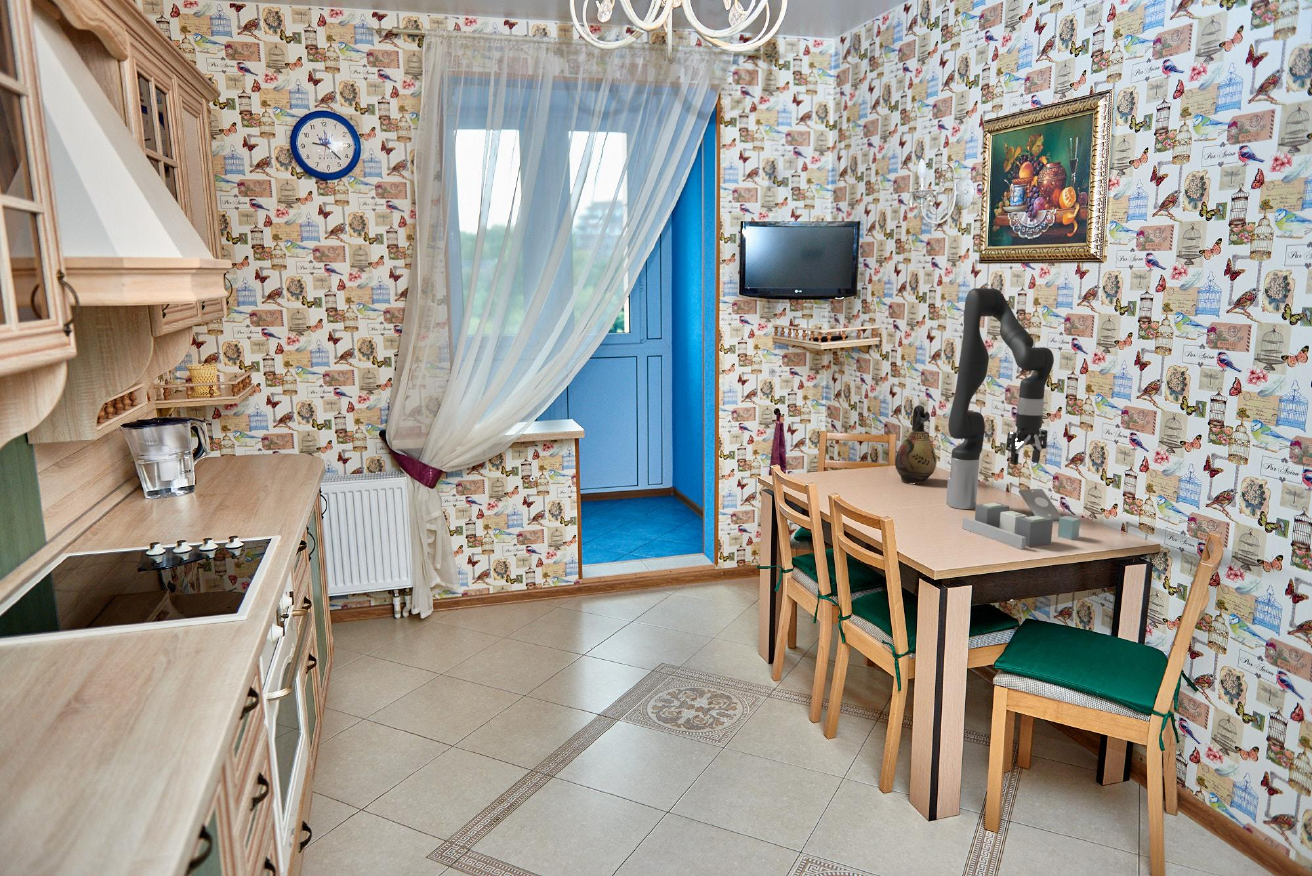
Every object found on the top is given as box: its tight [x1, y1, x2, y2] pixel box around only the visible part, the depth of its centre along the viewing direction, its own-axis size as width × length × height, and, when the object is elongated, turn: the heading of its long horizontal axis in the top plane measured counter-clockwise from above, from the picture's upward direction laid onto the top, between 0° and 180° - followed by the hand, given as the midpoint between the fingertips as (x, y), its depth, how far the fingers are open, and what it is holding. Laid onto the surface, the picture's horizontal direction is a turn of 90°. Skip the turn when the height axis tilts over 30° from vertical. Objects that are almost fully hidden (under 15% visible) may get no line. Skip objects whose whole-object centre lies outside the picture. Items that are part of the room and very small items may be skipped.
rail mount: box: [961, 502, 1054, 550], centre depth 271 cm, size 24×13×8 cm, turn 24°
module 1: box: [999, 510, 1028, 534], centre depth 272 cm, size 6×4×7 cm
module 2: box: [1057, 515, 1081, 541], centre depth 270 cm, size 4×4×6 cm
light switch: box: [1018, 488, 1063, 521], centre depth 296 cm, size 8×6×14 cm
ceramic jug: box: [894, 404, 937, 485], centre depth 343 cm, size 17×15×30 cm
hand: (1024, 463), depth 274 cm, fingers open, 8 cm apart
